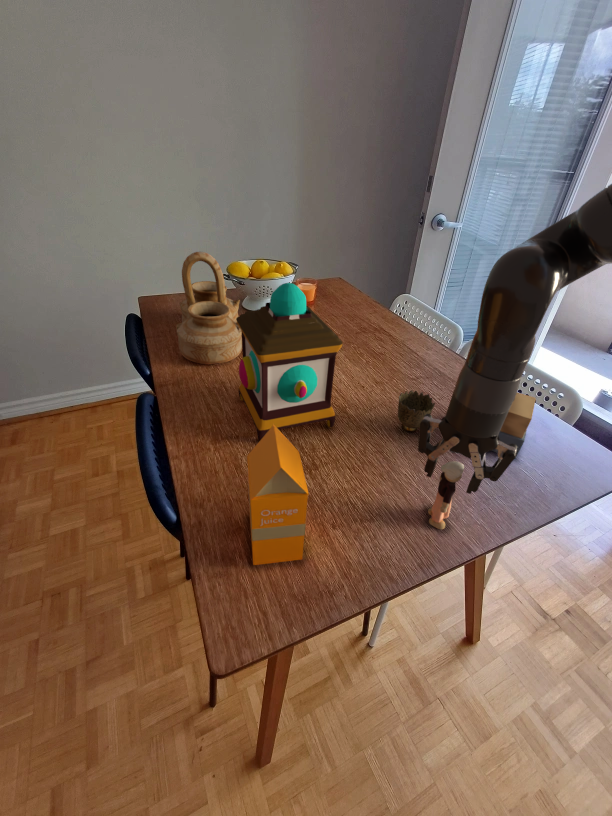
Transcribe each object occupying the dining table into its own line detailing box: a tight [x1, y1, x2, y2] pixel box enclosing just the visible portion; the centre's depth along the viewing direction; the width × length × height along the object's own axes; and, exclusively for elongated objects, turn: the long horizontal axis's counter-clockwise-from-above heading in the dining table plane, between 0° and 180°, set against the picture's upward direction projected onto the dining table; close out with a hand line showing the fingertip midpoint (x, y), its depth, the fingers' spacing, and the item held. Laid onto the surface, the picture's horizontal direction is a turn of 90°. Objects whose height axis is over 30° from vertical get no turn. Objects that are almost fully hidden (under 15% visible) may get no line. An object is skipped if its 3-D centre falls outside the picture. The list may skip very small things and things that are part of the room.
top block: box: [500, 391, 537, 438], centre depth 84 cm, size 9×9×5 cm
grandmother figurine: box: [427, 460, 465, 530], centre depth 66 cm, size 8×4×13 cm, turn 178°
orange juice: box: [246, 424, 310, 566], centre depth 58 cm, size 8×9×20 cm
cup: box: [397, 390, 436, 434], centre depth 86 cm, size 8×7×8 cm
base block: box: [491, 429, 528, 460], centre depth 87 cm, size 10×10×5 cm
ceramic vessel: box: [175, 251, 242, 365], centre depth 111 cm, size 34×18×25 cm, turn 13°
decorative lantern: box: [236, 282, 344, 442], centre depth 82 cm, size 20×20×30 cm
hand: (449, 481), depth 64 cm, fingers open, 5 cm apart
